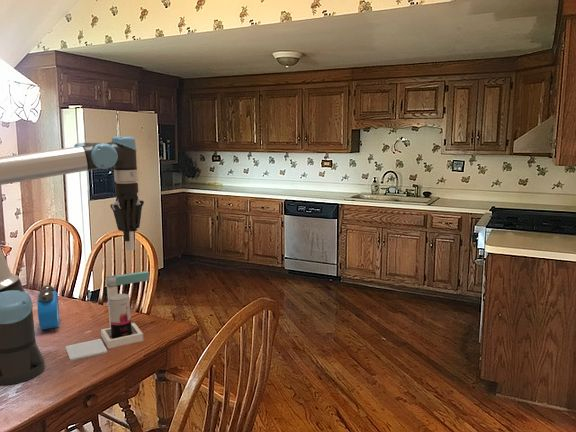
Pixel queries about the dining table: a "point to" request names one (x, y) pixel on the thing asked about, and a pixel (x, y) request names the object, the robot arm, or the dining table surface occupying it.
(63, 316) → the dining table surface
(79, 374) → the dining table surface
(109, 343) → the grey frame with post
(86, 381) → the dining table surface
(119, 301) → the beverage can
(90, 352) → the mat
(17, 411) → the dining table surface
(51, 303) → the alarm clock
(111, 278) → the bar
